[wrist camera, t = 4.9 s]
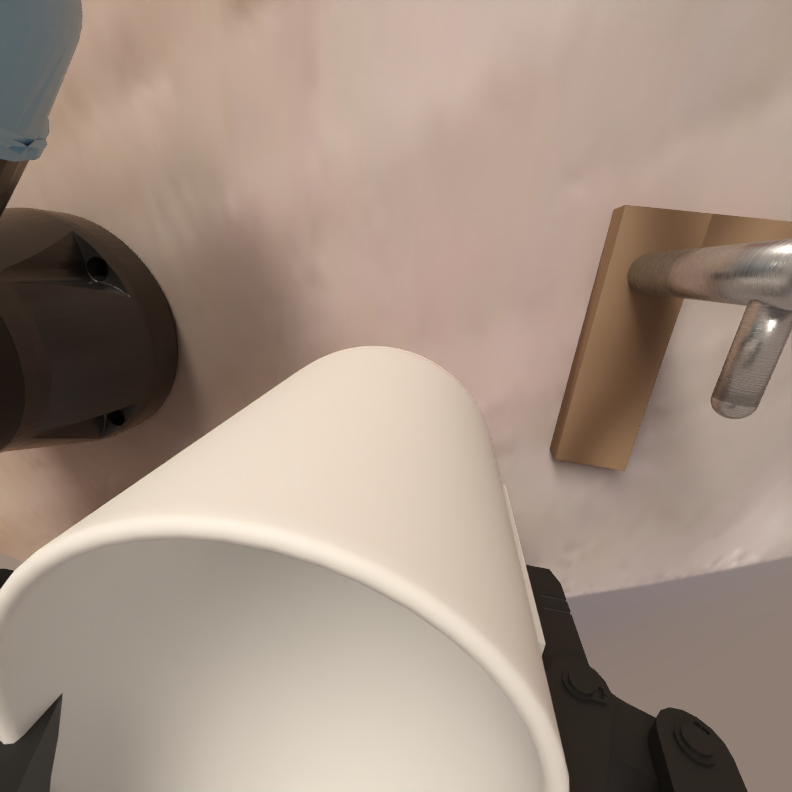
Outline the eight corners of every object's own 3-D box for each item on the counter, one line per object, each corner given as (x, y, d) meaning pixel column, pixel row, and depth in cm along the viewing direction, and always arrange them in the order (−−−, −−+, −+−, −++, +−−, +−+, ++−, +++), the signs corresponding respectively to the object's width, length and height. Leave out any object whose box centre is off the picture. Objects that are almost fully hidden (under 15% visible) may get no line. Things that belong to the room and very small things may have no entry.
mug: (491, 611, 17) (547, 1085, 7) (308, 602, 18) (142, 995, 8) (490, 333, 13) (600, 527, 3) (260, 346, 14) (-138, 515, 5)
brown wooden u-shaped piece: (549, 448, 25) (555, 459, 24) (613, 209, 21) (625, 204, 19) (842, 497, 23) (867, 512, 22) (980, 247, 19) (1023, 245, 17)
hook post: (602, 358, 21) (717, 425, 12) (634, 250, 20) (798, 229, 10) (640, 364, 21) (788, 437, 12) (676, 255, 19) (883, 238, 10)
